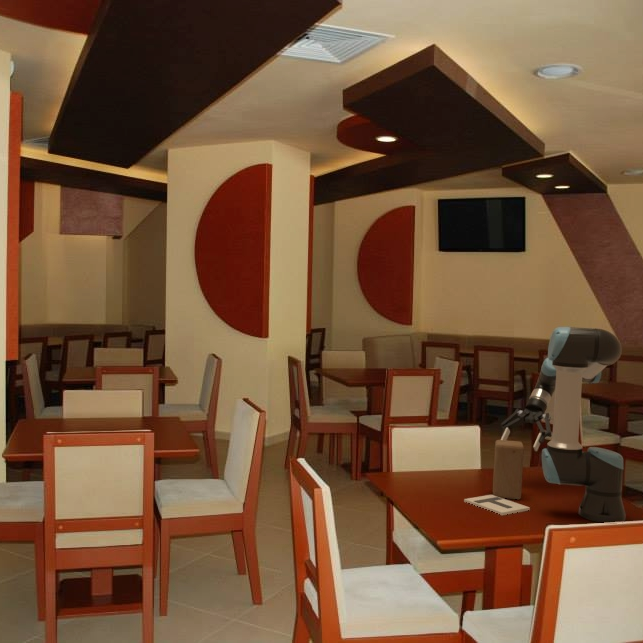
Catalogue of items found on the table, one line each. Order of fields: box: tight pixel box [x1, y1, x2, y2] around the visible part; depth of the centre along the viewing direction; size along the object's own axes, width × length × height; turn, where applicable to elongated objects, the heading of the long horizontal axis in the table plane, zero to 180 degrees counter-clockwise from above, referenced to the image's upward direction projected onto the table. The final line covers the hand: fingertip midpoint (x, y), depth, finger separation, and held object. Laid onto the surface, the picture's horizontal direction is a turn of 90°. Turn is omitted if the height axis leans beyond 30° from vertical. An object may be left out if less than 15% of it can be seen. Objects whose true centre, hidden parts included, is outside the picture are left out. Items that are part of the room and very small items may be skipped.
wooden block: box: [492, 439, 525, 501], centre depth 289 cm, size 10×10×20 cm
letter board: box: [463, 494, 531, 516], centre depth 275 cm, size 18×14×1 cm
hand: (518, 446), depth 296 cm, fingers open, 13 cm apart
